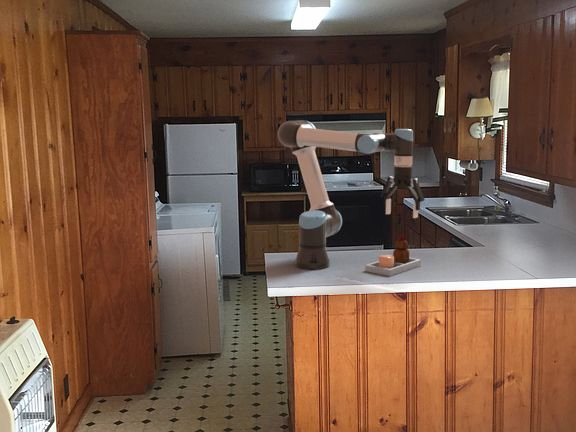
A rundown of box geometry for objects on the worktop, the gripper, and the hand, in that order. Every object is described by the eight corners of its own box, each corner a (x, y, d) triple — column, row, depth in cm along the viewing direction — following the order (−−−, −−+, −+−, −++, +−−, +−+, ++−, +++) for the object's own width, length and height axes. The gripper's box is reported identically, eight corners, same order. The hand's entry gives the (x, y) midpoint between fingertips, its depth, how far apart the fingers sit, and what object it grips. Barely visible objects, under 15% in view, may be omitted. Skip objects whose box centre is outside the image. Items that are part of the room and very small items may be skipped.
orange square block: (375, 270, 269) (375, 256, 268) (383, 267, 273) (384, 254, 272) (388, 273, 264) (388, 259, 263) (396, 270, 269) (397, 256, 268)
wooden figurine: (407, 263, 280) (408, 230, 278) (410, 267, 275) (411, 232, 272) (392, 263, 280) (392, 230, 278) (394, 267, 274) (395, 232, 272)
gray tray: (365, 273, 269) (365, 265, 268) (396, 263, 286) (396, 255, 285) (390, 278, 260) (390, 270, 260) (420, 267, 278) (420, 259, 277)
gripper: (373, 164, 275) (372, 213, 279) (424, 168, 259) (422, 220, 262) (383, 163, 281) (382, 211, 285) (434, 167, 264) (432, 218, 268)
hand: (401, 215), depth 274 cm, fingers open, 13 cm apart
